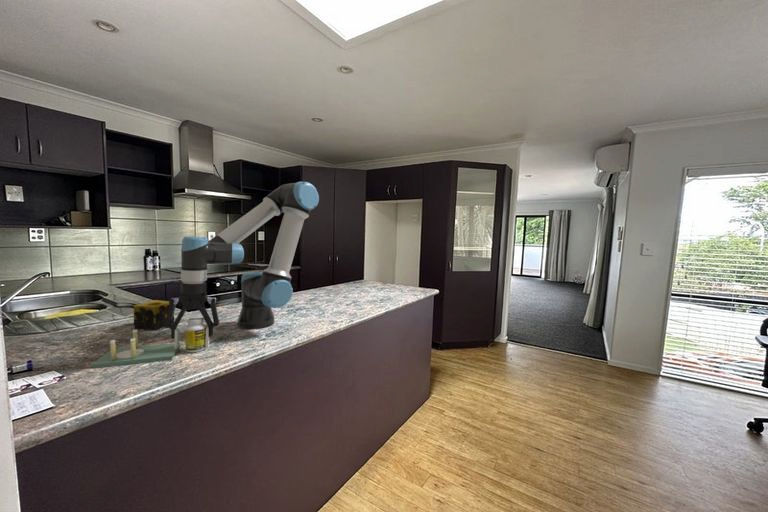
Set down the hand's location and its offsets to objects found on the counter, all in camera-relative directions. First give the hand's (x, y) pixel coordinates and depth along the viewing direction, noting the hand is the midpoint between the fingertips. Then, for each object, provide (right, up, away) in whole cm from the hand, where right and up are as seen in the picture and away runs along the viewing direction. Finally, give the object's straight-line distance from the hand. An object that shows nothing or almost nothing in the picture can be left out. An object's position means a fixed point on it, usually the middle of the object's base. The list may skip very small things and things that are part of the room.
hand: (192, 346), depth 106 cm
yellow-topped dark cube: (-31, +1, +24) cm, 39 cm away
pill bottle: (+1, -1, +1) cm, 2 cm away
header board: (-13, -1, -6) cm, 14 cm away
